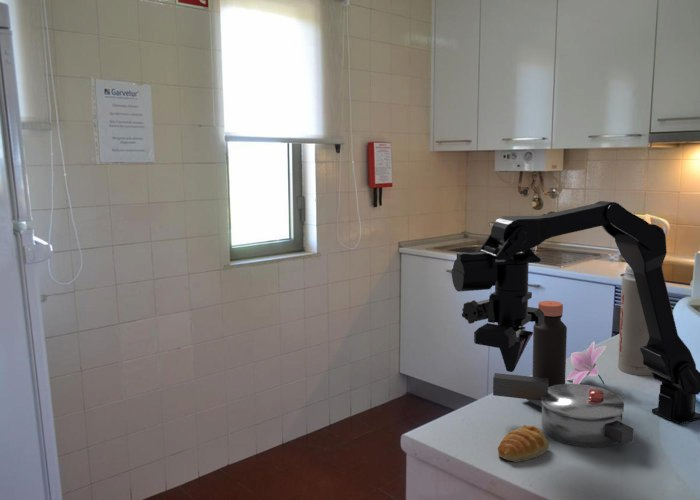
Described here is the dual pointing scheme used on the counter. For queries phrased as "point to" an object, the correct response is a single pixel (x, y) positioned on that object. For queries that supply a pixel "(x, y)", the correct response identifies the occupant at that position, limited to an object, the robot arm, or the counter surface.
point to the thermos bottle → (632, 328)
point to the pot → (584, 430)
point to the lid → (561, 397)
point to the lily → (585, 363)
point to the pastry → (523, 444)
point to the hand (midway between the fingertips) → (510, 371)
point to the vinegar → (550, 344)
